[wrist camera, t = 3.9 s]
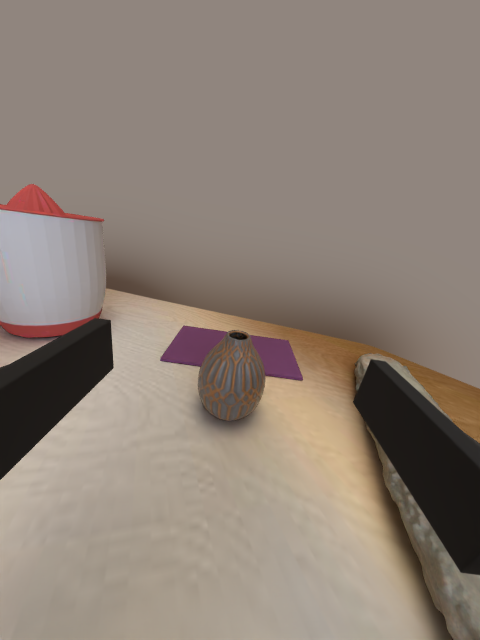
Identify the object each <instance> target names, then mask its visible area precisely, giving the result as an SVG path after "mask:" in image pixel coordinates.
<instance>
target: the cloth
mask: <svg viewBox="0 0 480 640" xmlns="http://www.w3.org/2000/svg"><path fill="white" fill-rule="evenodd" d="M226 333H227V332H225V331H218V330H211V329H204V328H197V327H190V326H183V327H182V329H181V330H180V331H179V333H178V334H177V336H176V337H175V339H174V340H173V341H172V343H171V344H170V346H169V347H168V348H167V350H166V351H165V353H164V354H163V356H162V357H161V358H160V361H166V362H174V363H181V364H188V365H195V366H201V365H202V362H203V360H204V358H205V357H206V355H207V354H208V353H209V351H210V350H211V349H212V348H214V347H215V346H216V345H217V344H218V343H219V342H220V341H222V339H223V338H224V336H225V335H226ZM250 336H251V340H252V343H253V346H254V347H255V349H256V351H257V352H258V354H259V356H260V357H261V359H262V362H263V365H264V369H265V375H267V376H274V377H281V378H288V379H295V380H303V377H302V375H301V372H300V369H299V367H298V364H297V362H296V359H295V357H294V354H293V351H292V349H291V346H290V344H289V341H288V340H281V339H274V338H267V337H260V336H253V335H250Z"/></svg>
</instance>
